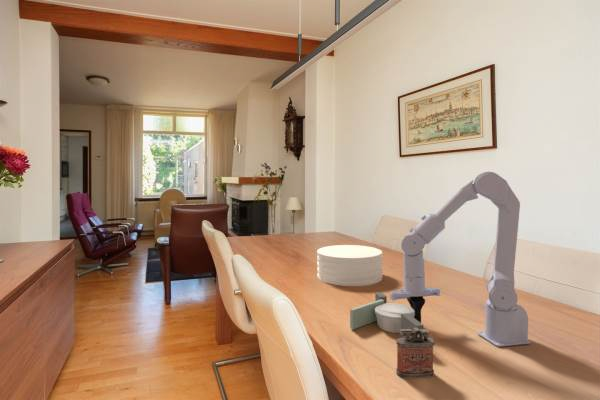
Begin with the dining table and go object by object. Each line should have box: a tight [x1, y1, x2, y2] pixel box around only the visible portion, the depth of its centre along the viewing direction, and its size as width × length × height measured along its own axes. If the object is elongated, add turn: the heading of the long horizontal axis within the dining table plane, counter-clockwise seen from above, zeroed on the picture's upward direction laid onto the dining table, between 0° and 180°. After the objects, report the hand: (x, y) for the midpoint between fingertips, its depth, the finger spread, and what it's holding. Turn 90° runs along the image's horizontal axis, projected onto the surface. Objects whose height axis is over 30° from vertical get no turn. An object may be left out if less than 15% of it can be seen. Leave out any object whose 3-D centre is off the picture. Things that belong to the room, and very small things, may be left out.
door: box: [349, 299, 384, 330], centre depth 104 cm, size 2×13×6 cm, turn 128°
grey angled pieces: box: [374, 292, 425, 338], centre depth 100 cm, size 2×26×6 cm, turn 10°
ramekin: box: [375, 302, 415, 334], centre depth 102 cm, size 11×11×5 cm
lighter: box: [395, 327, 435, 379], centre depth 77 cm, size 8×3×10 cm, turn 92°
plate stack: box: [316, 244, 383, 287], centre depth 155 cm, size 28×28×12 cm
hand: (415, 322), depth 102 cm, fingers closed, pressing on ramekin
